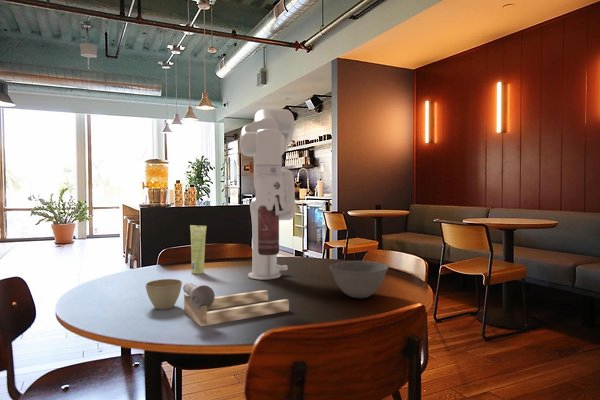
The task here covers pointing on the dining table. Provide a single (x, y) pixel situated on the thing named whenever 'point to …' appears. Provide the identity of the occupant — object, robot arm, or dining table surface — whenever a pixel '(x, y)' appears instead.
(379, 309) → the dining table surface
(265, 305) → the bay
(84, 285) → the dining table surface
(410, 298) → the dining table surface
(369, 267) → the bowl
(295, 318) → the dining table surface
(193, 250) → the tube
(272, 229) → the can
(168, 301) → the flower pot
